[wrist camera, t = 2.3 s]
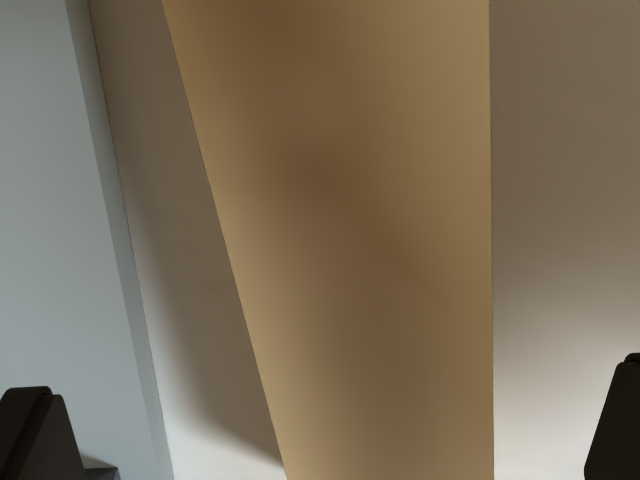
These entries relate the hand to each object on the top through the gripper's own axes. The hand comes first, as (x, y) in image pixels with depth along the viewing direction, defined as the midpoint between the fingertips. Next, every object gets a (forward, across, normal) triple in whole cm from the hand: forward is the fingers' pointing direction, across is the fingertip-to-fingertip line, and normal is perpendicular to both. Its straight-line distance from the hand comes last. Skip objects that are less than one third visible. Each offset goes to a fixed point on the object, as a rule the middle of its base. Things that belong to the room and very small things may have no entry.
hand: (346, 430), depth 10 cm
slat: (+8, -1, 0) cm, 8 cm away
